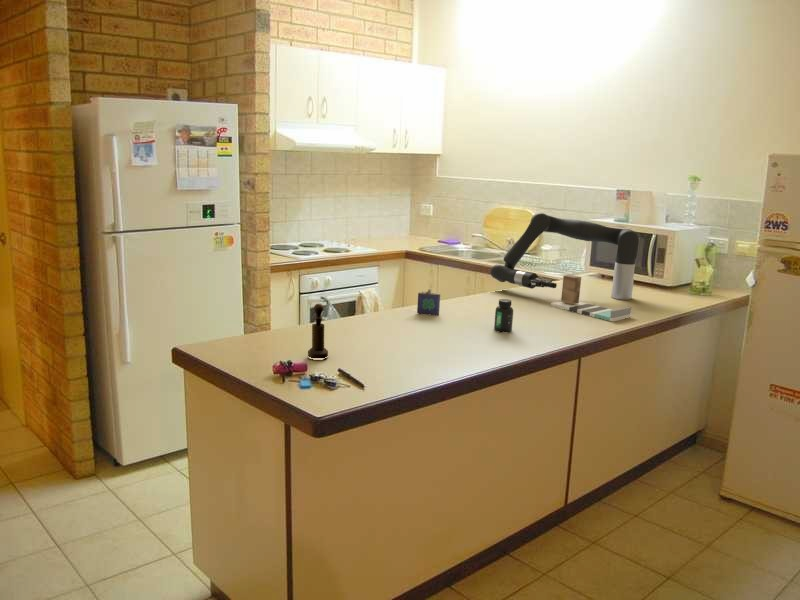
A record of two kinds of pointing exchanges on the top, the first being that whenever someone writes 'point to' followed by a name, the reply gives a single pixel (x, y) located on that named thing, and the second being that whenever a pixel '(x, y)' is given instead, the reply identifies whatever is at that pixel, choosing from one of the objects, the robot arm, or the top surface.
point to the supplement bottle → (503, 316)
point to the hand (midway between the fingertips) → (555, 285)
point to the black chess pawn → (318, 335)
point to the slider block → (571, 289)
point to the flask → (428, 303)
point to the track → (595, 310)
